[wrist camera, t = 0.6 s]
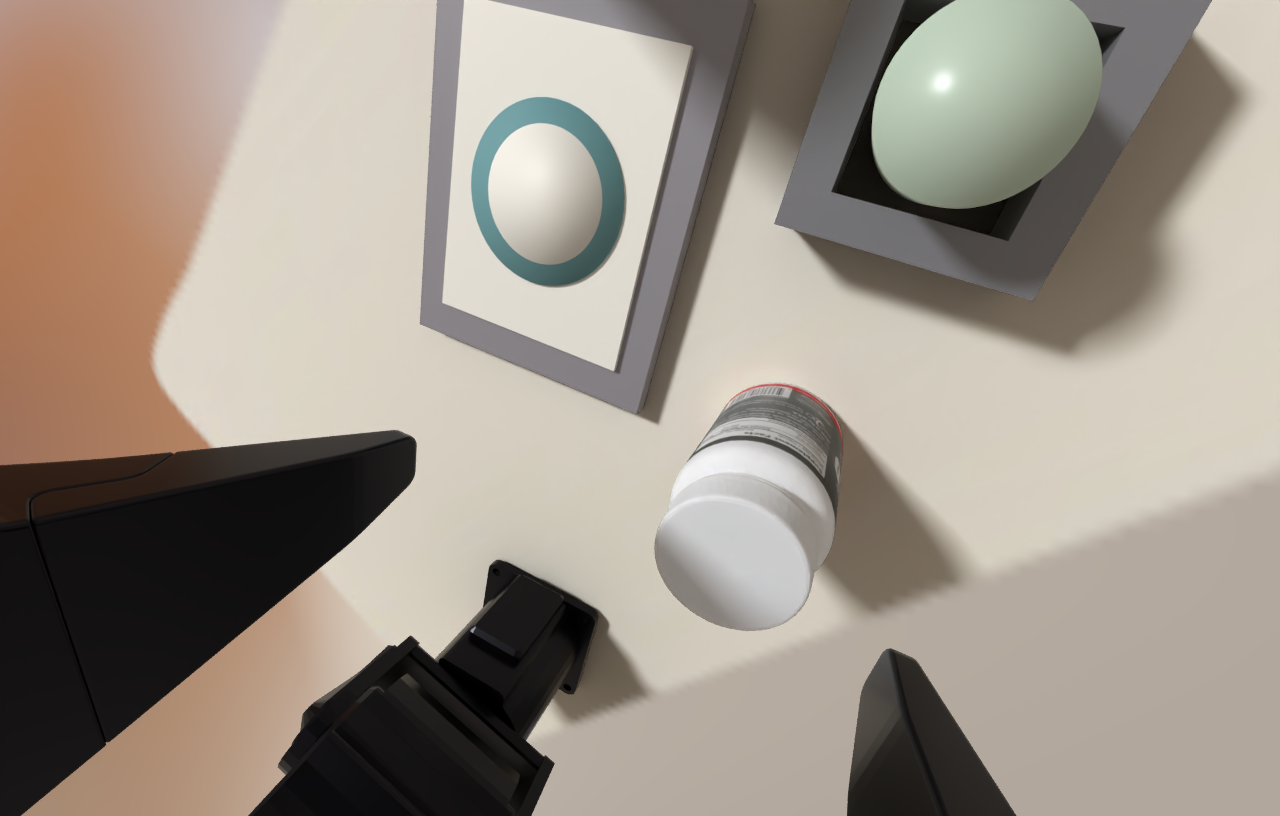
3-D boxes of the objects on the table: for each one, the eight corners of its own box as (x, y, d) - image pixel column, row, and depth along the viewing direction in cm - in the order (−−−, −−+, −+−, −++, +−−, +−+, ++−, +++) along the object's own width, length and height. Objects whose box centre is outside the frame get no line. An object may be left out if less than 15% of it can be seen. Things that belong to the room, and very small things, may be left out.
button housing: (1010, 286, 16) (1032, 301, 14) (785, 220, 18) (774, 223, 15) (1169, 6, 13) (1231, -32, 11) (877, -42, 14) (879, -83, 12)
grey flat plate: (643, 407, 22) (633, 417, 21) (432, 320, 25) (414, 325, 24) (755, 4, 16) (748, -8, 15) (456, -55, 18) (433, -69, 17)
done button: (993, 223, 14) (1028, 231, 11) (847, 184, 15) (842, 181, 12) (1082, 53, 13) (1154, 5, 9) (912, 21, 14) (924, -33, 10)
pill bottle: (803, 513, 21) (770, 678, 14) (699, 454, 22) (616, 580, 15) (870, 418, 19) (871, 557, 12) (751, 356, 20) (683, 450, 12)
